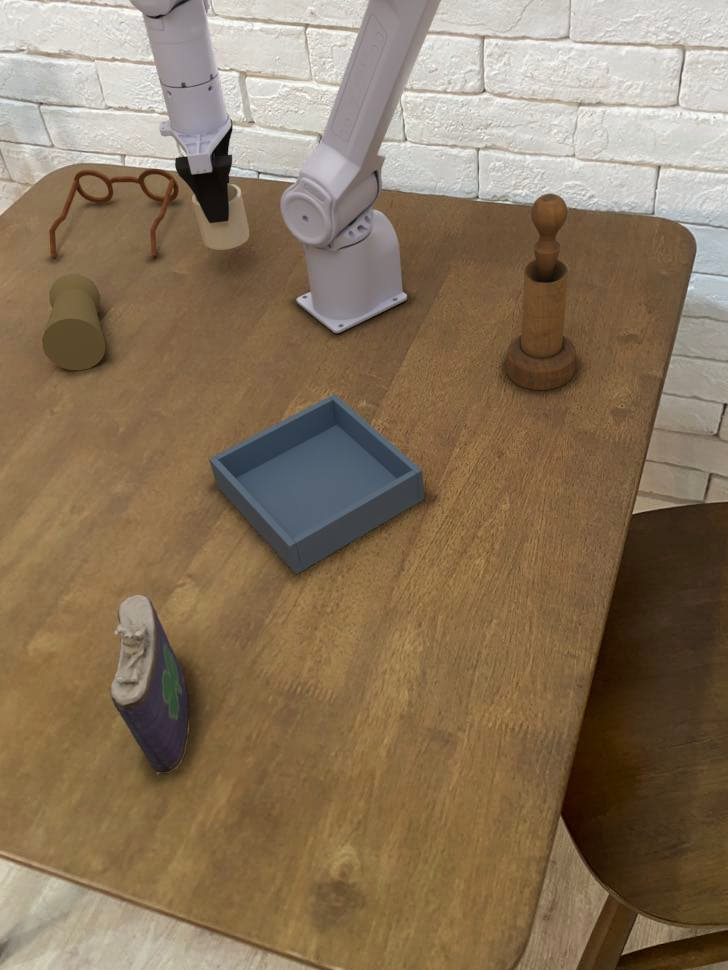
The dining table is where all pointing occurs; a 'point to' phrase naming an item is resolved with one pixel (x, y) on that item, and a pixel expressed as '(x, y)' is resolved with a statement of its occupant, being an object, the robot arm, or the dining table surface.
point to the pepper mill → (74, 324)
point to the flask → (150, 686)
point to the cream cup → (224, 223)
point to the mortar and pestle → (543, 308)
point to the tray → (317, 481)
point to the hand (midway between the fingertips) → (219, 206)
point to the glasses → (107, 198)
